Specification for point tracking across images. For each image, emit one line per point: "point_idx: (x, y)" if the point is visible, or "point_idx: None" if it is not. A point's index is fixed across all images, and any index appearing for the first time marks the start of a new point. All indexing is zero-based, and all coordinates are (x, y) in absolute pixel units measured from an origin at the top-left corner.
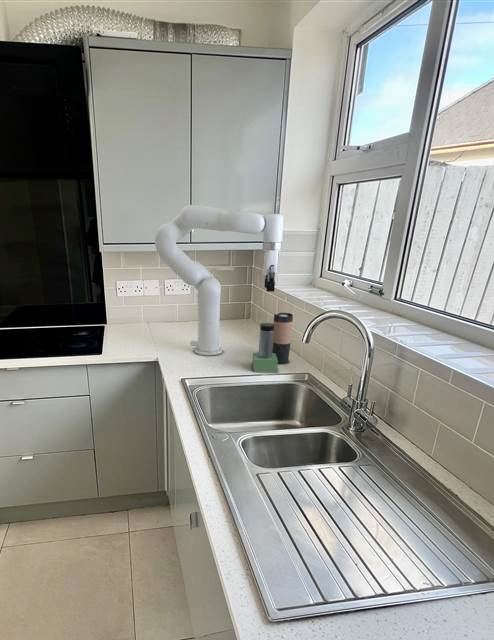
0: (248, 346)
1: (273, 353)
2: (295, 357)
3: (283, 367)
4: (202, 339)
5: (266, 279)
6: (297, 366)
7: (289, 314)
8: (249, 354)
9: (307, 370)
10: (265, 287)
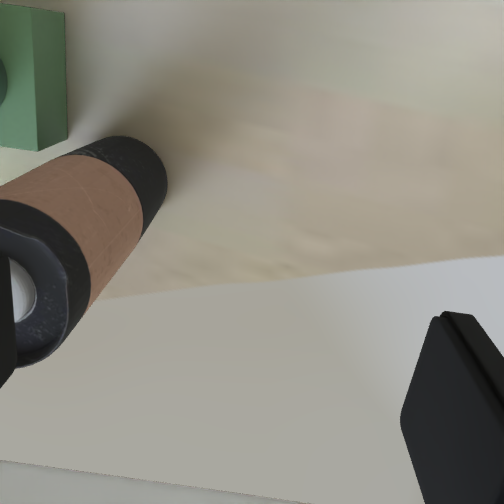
0: (417, 56)
1: (32, 139)
2: (188, 272)
3: None
4: None
5: (495, 460)
6: None
7: (41, 353)
8: (247, 30)
9: None
10: (431, 324)
